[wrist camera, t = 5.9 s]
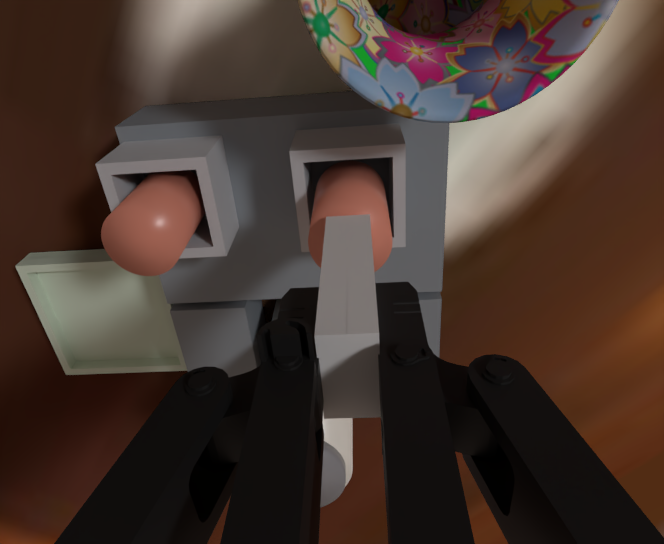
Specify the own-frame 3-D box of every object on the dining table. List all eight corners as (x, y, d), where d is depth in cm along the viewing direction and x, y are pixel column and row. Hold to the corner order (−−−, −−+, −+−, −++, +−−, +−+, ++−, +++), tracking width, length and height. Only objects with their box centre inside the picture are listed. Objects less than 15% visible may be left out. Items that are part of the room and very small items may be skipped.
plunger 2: (312, 163, 21) (303, 206, 17) (384, 158, 21) (391, 201, 17) (318, 227, 23) (312, 280, 19) (385, 223, 22) (393, 276, 19)
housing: (145, 106, 26) (85, 147, 20) (436, 85, 25) (463, 121, 19) (213, 367, 35) (186, 448, 30) (428, 359, 34) (444, 441, 28)
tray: (29, 252, 31) (15, 266, 30) (165, 245, 30) (157, 258, 29) (77, 359, 36) (66, 375, 34) (196, 354, 35) (190, 370, 34)
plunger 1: (135, 167, 22) (90, 209, 19) (201, 162, 22) (169, 204, 18) (152, 227, 24) (114, 278, 20) (214, 224, 24) (188, 274, 20)
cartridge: (270, 279, 32) (228, 442, 21) (349, 276, 31) (349, 439, 20) (280, 342, 34) (247, 515, 23) (354, 339, 34) (355, 513, 23)
